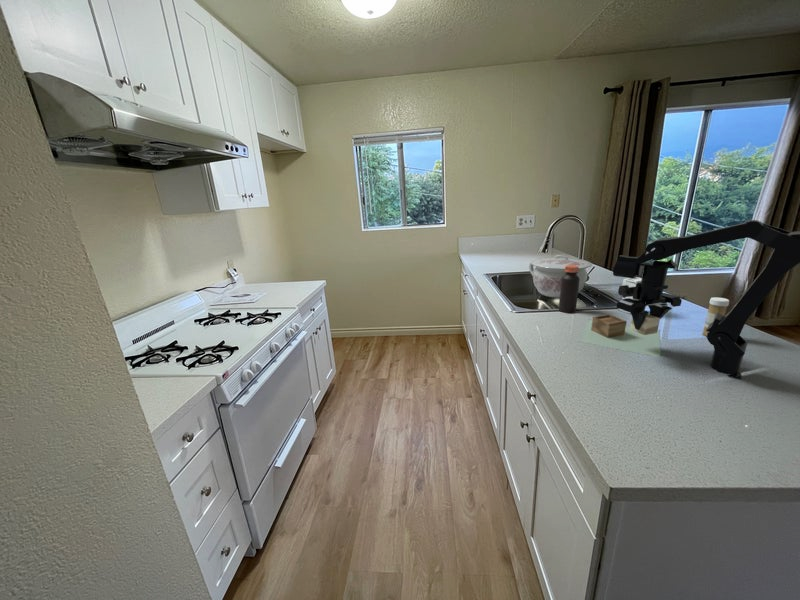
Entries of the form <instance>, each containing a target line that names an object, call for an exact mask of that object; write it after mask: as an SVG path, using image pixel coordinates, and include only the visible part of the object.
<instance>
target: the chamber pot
mask: <svg viewBox="0 0 800 600" xmlns="http://www.w3.org/2000/svg"><path fill="white" fill-rule="evenodd" d="M567 265H575V266H578V273H577V276H578V277H579V278H580V280H579V288H578V294H579V293H580V292H581V291H582V290H583V288H584V287H585V284H586V282H587V279H588V272H587V270H586V269H588V268H591V267H592V266H593V263H592V262H591V261H588V260H585V259H581V258H576V257H570V256H569V257H567V256H566V255H565V254H556V255H554V256H549V257H548V256H547V257H541V258H533V259H532V260H531V261H530V262H529V265H528V269H529V272H530V275H531V276H532V280H533V285H534V286H535V288H536V289H537V292H538V293H539V294H540V295H542V296H545V297H548V298H550V299H551V298H552V299H560V290H561V281H562V277H563V276H564V275H565V274H566V273H565V266H567ZM534 267H535V268H534Z"/></svg>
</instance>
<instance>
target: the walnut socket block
mask: <svg viewBox="0 0 800 600" xmlns="http://www.w3.org/2000/svg"><path fill="white" fill-rule="evenodd" d="M591 320H592V328H591V331H594V332H596V333H598V334H600V335H602V336H604V337H606V338H610V337H616V336H621V335H624V334H625V328H626V325H627V322H628V321H627V320H624V319H622V318H620V317H617V316H614V315H611V314H603V315H597V316H596V315H595V316H592V319H591Z"/></svg>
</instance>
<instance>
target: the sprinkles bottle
mask: <svg viewBox="0 0 800 600" xmlns="http://www.w3.org/2000/svg"><path fill="white" fill-rule="evenodd" d="M729 305H730V299H728V298H725V297H717V296H715V297H711V298H710V300H709V306H708V310H707V313H706V317H705V320H704V327H703V331H702V332H701V333H702V335H703V336H704V337H707V334H708V332H709V331H706V330H707V328H708V326H709V324H710V323H712V322H713V321H714V320H715V318H716V316H717V315H718V313H719V314H721V315H723V316H725V315H726V314H727V313H726V312H727V309H728V306H729Z"/></svg>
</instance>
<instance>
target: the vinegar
mask: <svg viewBox="0 0 800 600" xmlns="http://www.w3.org/2000/svg"><path fill="white" fill-rule="evenodd" d="M565 273H566V274H565V275H564V276H563V277H562V281H561V290H560V298H559V299H558V300H559V301H558V311H560V312H562V313H565V314H574V313H575V312H576V311H577V304H578V302H577V301H578V298H579V297H578V296H579V293H578V288H579V280H580V278H579V277H578V276H577V273H578V266H575V265H567V266H565Z"/></svg>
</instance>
